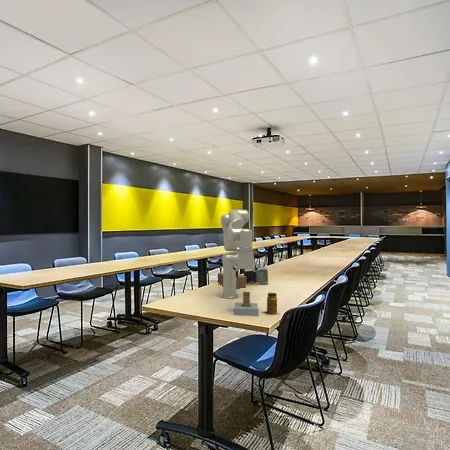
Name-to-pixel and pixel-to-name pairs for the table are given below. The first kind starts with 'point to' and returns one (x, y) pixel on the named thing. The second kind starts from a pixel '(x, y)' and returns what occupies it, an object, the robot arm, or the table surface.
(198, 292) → the table surface
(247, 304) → the peg
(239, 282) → the tissue box cover
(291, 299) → the table surface
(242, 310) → the socket block
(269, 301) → the condiment
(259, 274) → the radio
